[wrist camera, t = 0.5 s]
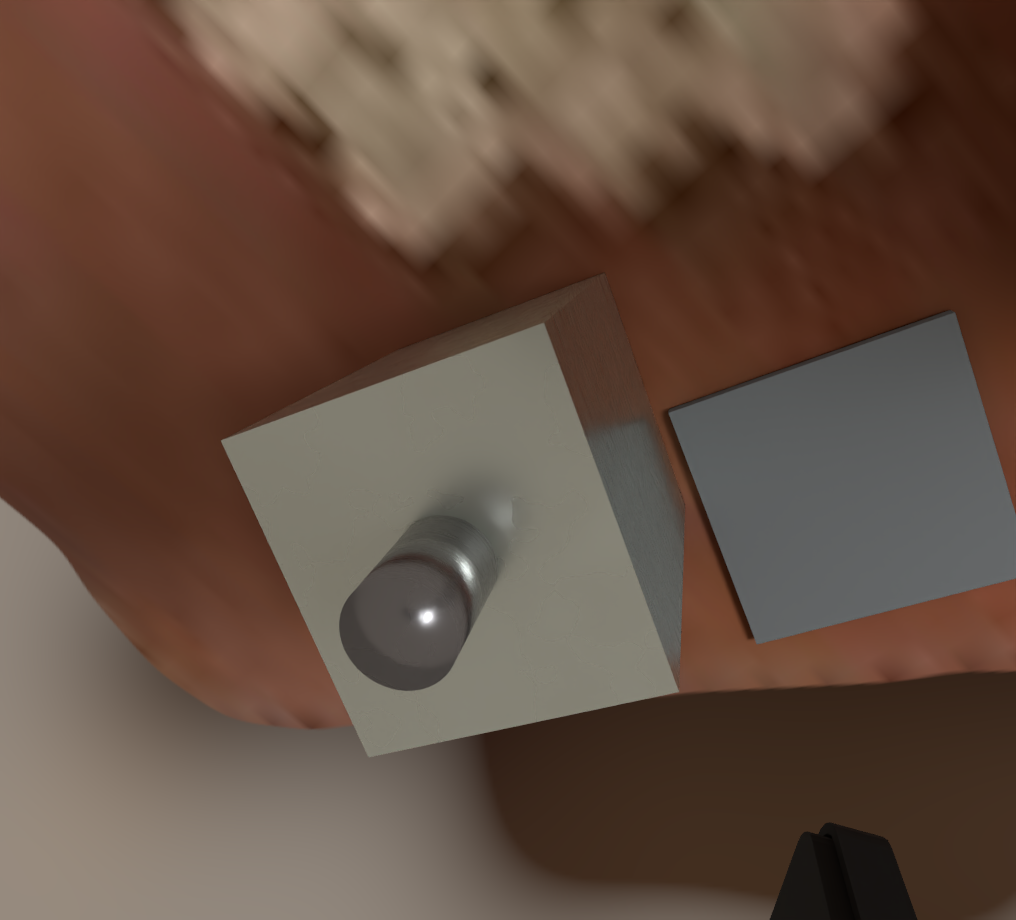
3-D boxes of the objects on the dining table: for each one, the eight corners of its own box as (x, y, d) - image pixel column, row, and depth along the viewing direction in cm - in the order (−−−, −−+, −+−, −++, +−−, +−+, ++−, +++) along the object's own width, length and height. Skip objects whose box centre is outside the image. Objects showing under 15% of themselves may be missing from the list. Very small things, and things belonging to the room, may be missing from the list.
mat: (950, 309, 40) (954, 312, 39) (1027, 567, 42) (1033, 573, 42) (668, 409, 44) (668, 412, 43) (755, 637, 47) (756, 644, 46)
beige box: (604, 272, 42) (510, 351, 21) (685, 504, 45) (675, 790, 23) (396, 350, 46) (129, 487, 24) (482, 561, 49) (312, 853, 27)
